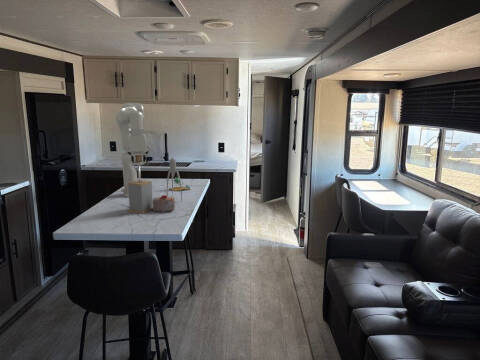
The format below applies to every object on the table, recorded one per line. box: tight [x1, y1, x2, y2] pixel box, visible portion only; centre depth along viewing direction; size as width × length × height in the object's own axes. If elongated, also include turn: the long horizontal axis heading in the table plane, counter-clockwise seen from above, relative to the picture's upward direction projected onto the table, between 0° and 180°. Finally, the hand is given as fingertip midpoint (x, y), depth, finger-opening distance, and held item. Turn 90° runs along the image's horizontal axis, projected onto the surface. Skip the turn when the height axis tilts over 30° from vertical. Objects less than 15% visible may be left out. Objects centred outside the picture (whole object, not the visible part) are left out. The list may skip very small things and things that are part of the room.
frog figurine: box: [168, 174, 192, 191], centre depth 279 cm, size 10×18×15 cm, turn 80°
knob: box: [135, 155, 144, 183], centre depth 221 cm, size 8×8×25 cm
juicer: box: [166, 157, 183, 201], centre depth 245 cm, size 10×9×30 cm
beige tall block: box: [126, 179, 153, 215], centre depth 224 cm, size 12×12×18 cm
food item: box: [152, 194, 176, 213], centre depth 224 cm, size 14×8×10 cm, turn 97°
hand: (138, 161), depth 220 cm, fingers open, 5 cm apart
